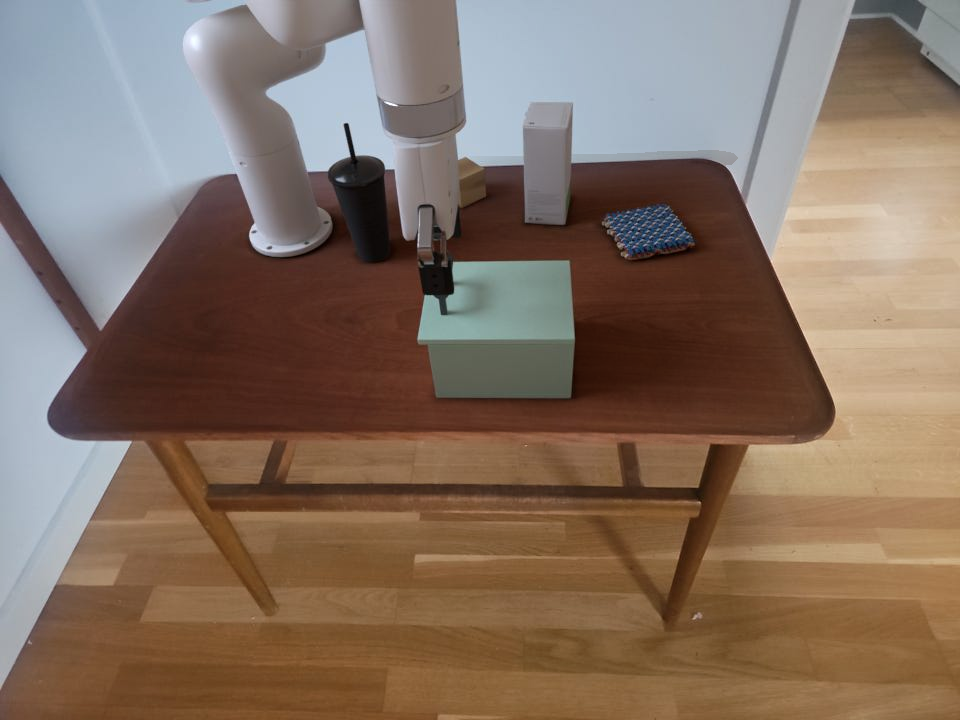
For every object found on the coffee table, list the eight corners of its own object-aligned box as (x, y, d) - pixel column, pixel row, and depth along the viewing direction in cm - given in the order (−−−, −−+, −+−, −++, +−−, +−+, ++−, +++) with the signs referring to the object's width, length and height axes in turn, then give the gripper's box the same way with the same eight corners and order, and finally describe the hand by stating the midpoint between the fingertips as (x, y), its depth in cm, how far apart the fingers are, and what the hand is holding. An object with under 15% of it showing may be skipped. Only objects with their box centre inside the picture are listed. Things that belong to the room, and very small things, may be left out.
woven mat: (665, 210, 98) (667, 199, 97) (696, 251, 91) (698, 239, 90) (599, 222, 97) (600, 211, 96) (626, 265, 90) (627, 253, 88)
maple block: (443, 195, 105) (440, 167, 101) (467, 184, 107) (465, 156, 103) (461, 208, 102) (458, 180, 98) (486, 196, 104) (484, 168, 100)
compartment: (436, 398, 75) (427, 345, 69) (446, 320, 84) (439, 267, 78) (570, 398, 74) (574, 344, 68) (566, 319, 83) (569, 265, 77)
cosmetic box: (564, 227, 97) (569, 129, 86) (521, 224, 98) (520, 127, 87) (570, 196, 103) (575, 100, 91) (529, 194, 104) (529, 99, 92)
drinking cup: (386, 273, 92) (358, 142, 77) (339, 263, 94) (303, 135, 80) (408, 242, 97) (386, 113, 82) (363, 233, 99) (334, 107, 84)
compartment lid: (418, 344, 69) (411, 310, 65) (431, 267, 78) (426, 232, 74) (574, 344, 68) (577, 308, 64) (569, 265, 77) (571, 230, 73)
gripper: (394, 69, 63) (418, 218, 75) (362, 159, 51) (397, 319, 63) (471, 65, 62) (482, 216, 75) (457, 155, 50) (473, 318, 63)
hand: (443, 263), depth 69 cm, fingers open, 9 cm apart
